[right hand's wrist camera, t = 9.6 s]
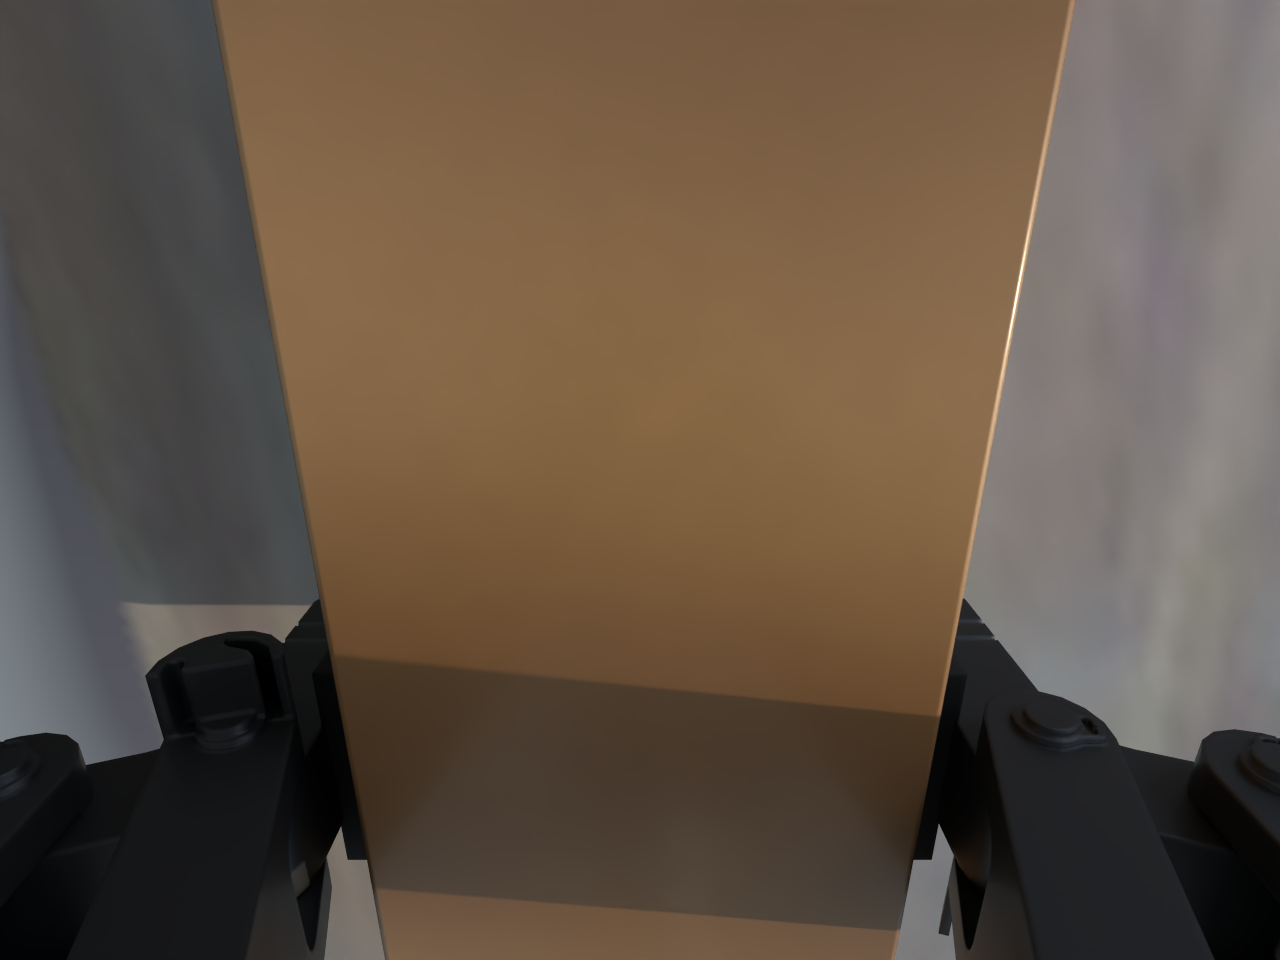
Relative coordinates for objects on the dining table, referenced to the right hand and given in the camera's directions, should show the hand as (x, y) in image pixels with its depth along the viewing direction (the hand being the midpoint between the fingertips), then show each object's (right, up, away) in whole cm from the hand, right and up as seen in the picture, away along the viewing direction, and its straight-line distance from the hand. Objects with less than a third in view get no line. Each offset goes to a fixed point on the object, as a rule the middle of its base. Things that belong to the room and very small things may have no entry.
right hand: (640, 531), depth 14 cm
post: (0, +20, -7) cm, 21 cm away
